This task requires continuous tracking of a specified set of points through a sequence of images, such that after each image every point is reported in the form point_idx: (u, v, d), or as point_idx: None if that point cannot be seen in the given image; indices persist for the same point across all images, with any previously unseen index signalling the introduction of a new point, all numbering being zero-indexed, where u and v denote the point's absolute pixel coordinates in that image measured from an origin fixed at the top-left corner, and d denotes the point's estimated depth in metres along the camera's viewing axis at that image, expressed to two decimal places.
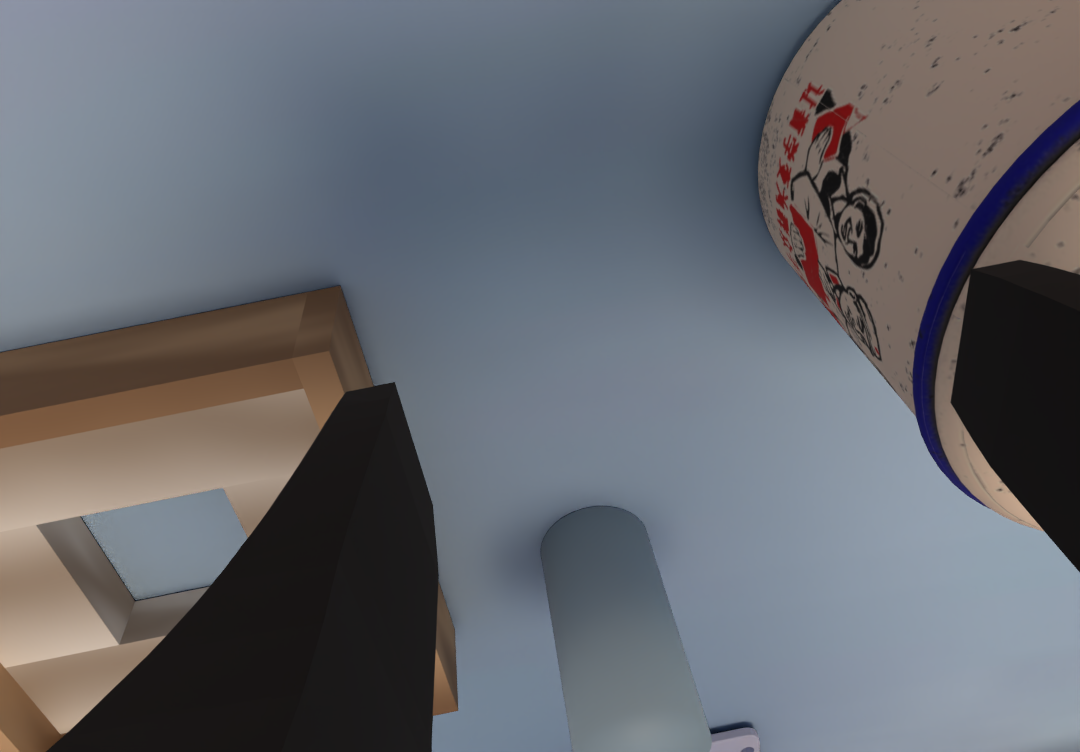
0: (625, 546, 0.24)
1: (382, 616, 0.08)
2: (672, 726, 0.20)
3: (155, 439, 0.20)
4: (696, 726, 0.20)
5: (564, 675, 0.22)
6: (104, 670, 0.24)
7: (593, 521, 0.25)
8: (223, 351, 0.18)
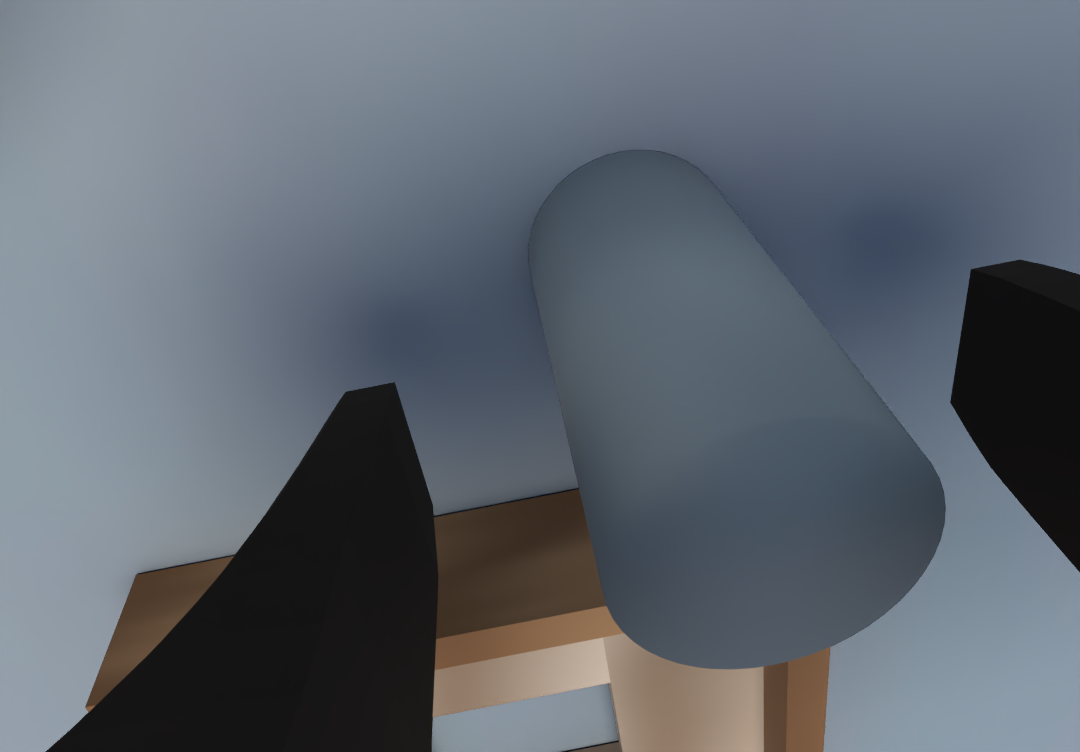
0: (546, 269, 0.12)
1: (382, 616, 0.08)
2: (679, 517, 0.08)
3: None
4: (701, 464, 0.07)
5: None
6: None
7: (533, 282, 0.13)
8: None
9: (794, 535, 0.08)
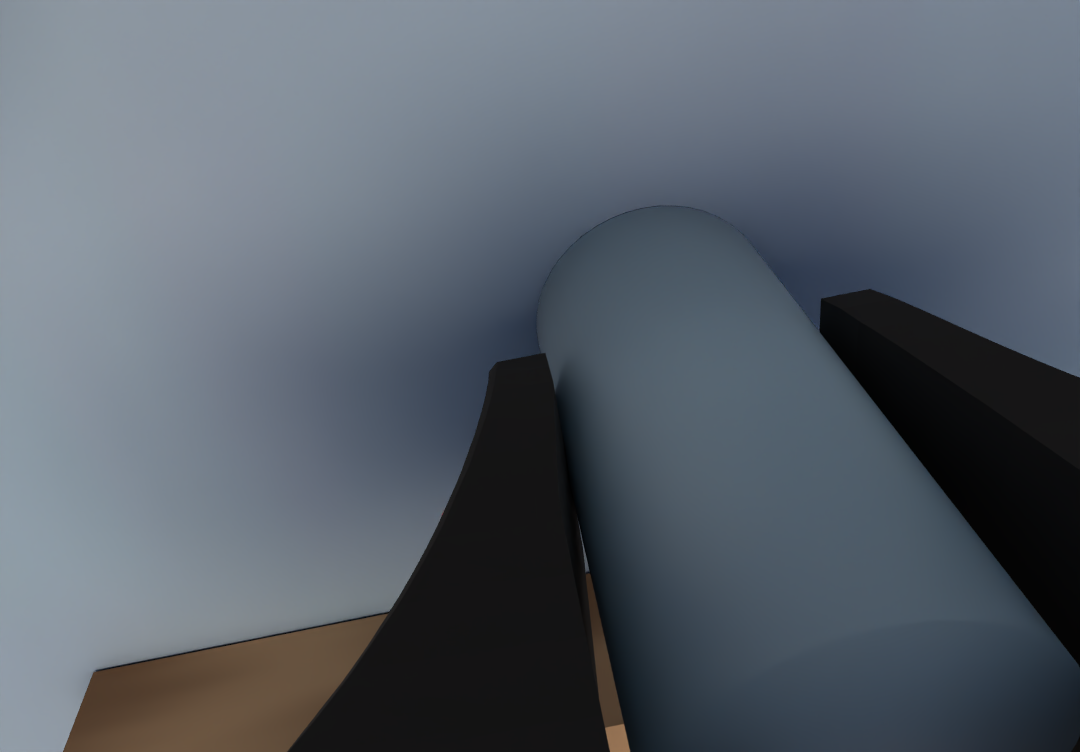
0: (559, 351, 0.10)
1: (576, 578, 0.08)
2: (750, 737, 0.06)
3: None
4: (782, 678, 0.06)
5: None
6: None
7: None
8: None
9: (892, 748, 0.06)
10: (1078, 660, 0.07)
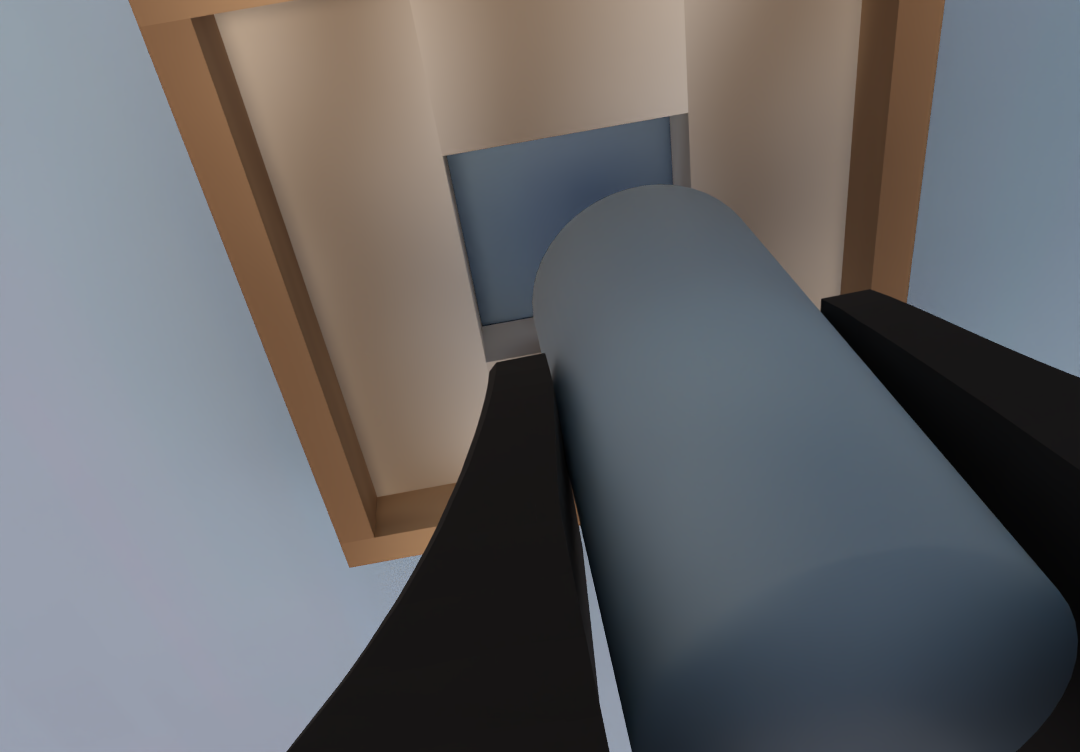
0: (556, 317, 0.10)
1: (575, 578, 0.08)
2: (742, 665, 0.06)
3: (360, 219, 0.17)
4: (779, 602, 0.06)
5: None
6: None
7: (537, 330, 0.12)
8: None
9: (883, 688, 0.06)
10: (1078, 660, 0.07)
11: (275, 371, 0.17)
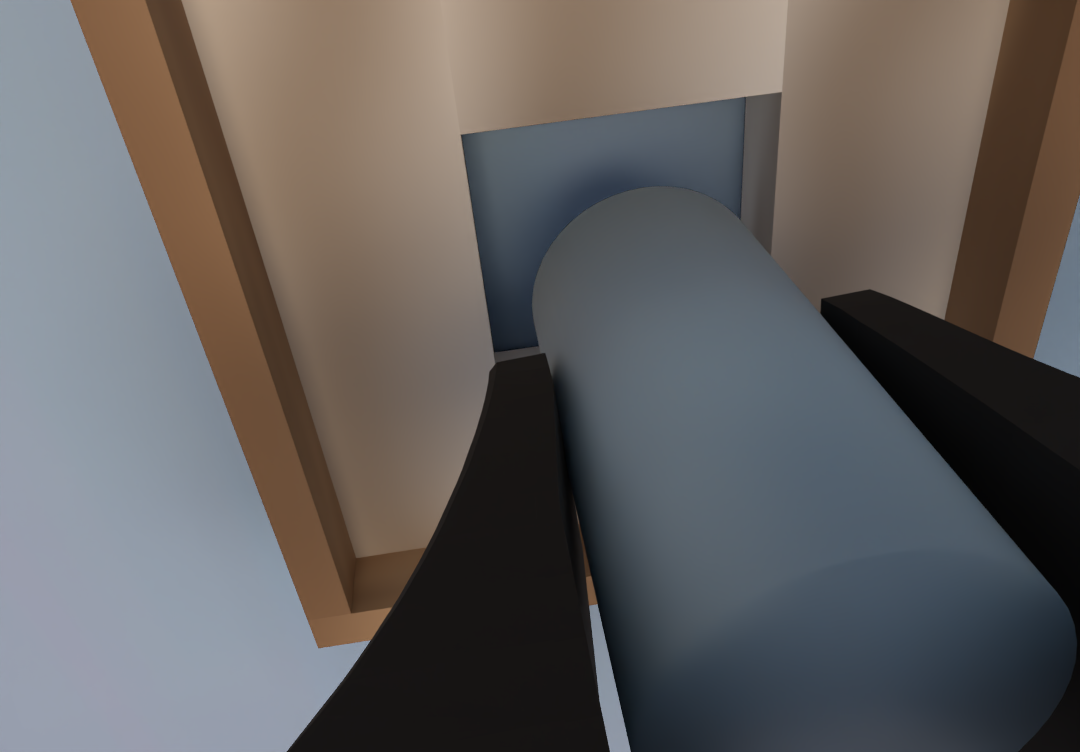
0: (556, 319, 0.10)
1: (576, 578, 0.08)
2: (742, 669, 0.06)
3: (348, 213, 0.13)
4: (778, 605, 0.06)
5: None
6: None
7: (537, 332, 0.12)
8: None
9: (883, 690, 0.06)
10: (1078, 660, 0.07)
11: (229, 407, 0.13)
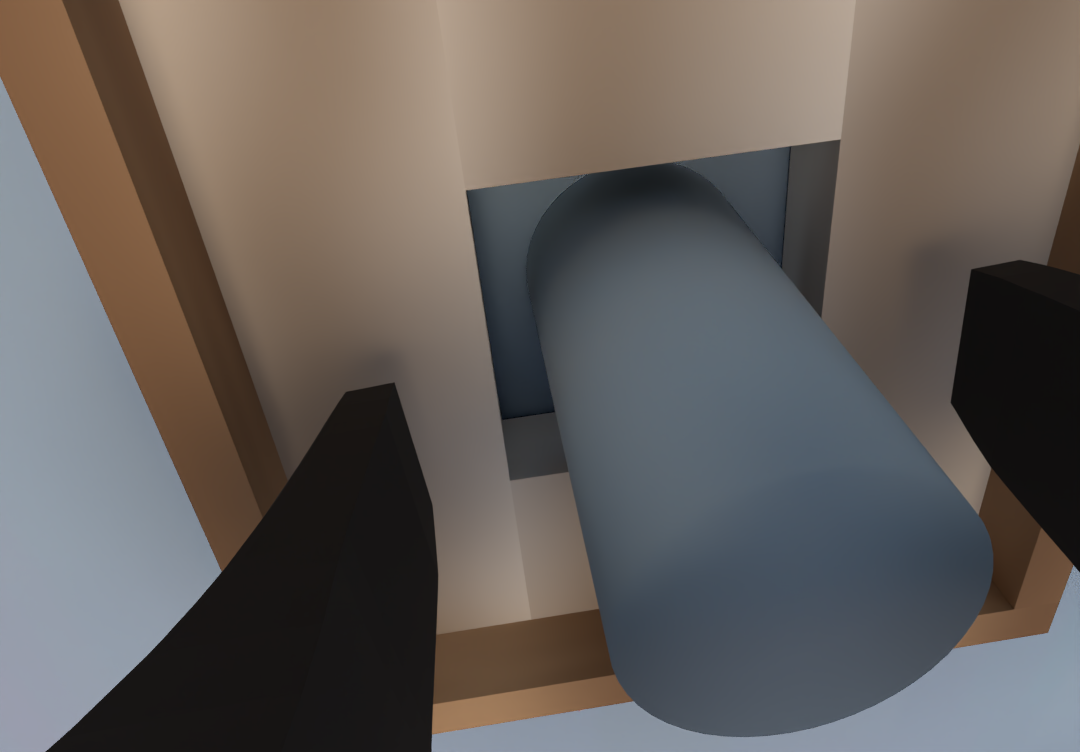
0: (547, 282, 0.11)
1: (382, 616, 0.08)
2: (703, 574, 0.07)
3: (335, 279, 0.11)
4: (732, 516, 0.07)
5: None
6: None
7: (530, 296, 0.12)
8: None
9: (825, 595, 0.07)
10: None
11: (196, 504, 0.11)
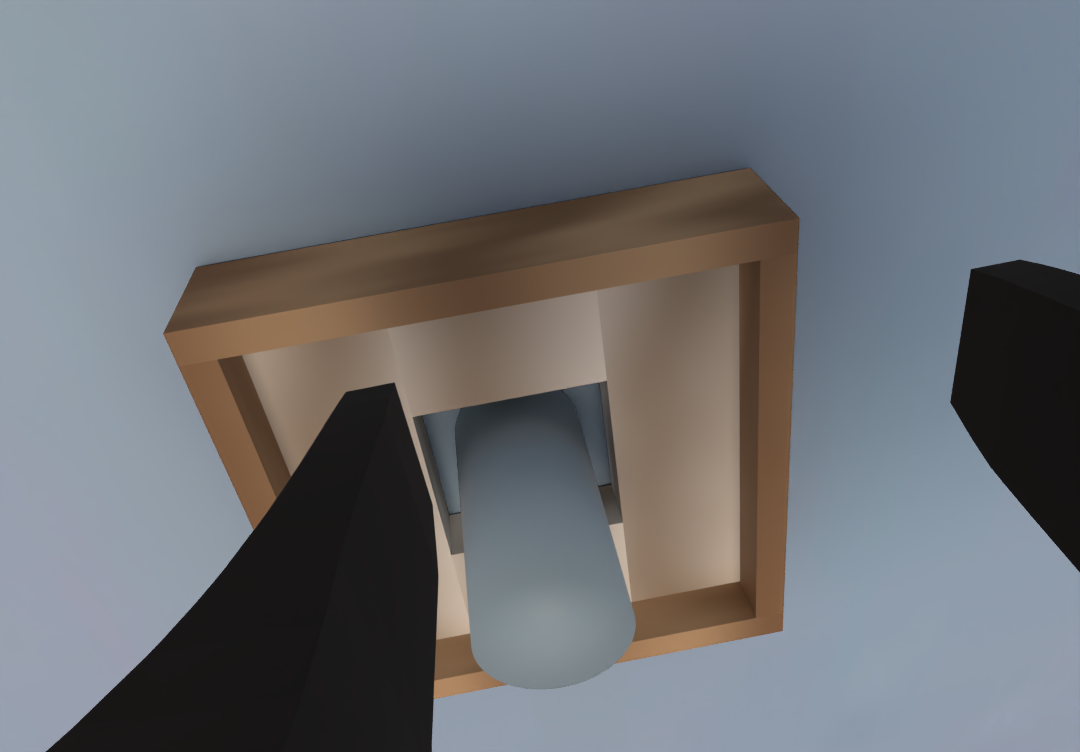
0: (460, 456, 0.21)
1: (382, 616, 0.08)
2: (505, 620, 0.17)
3: None
4: (512, 598, 0.16)
5: None
6: (656, 537, 0.24)
7: (457, 454, 0.22)
8: None
9: (562, 626, 0.17)
10: None
11: None
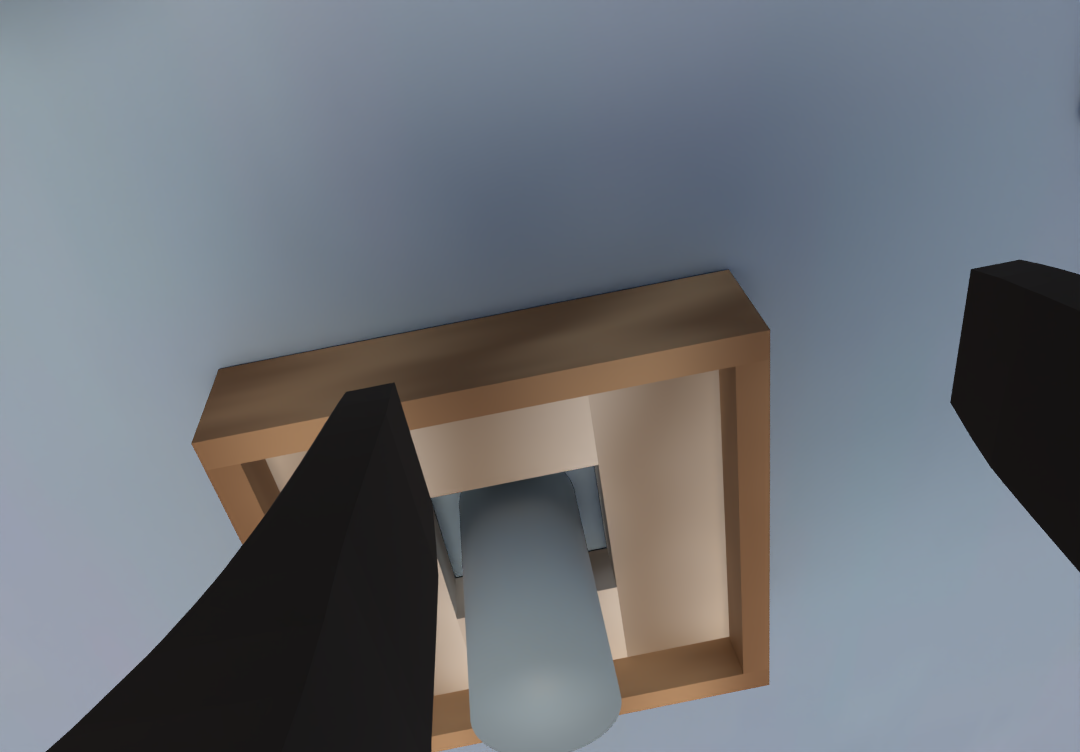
0: (463, 533, 0.23)
1: (382, 616, 0.08)
2: (501, 699, 0.18)
3: None
4: (506, 680, 0.18)
5: None
6: (649, 600, 0.25)
7: None
8: None
9: (553, 703, 0.18)
10: None
11: None
